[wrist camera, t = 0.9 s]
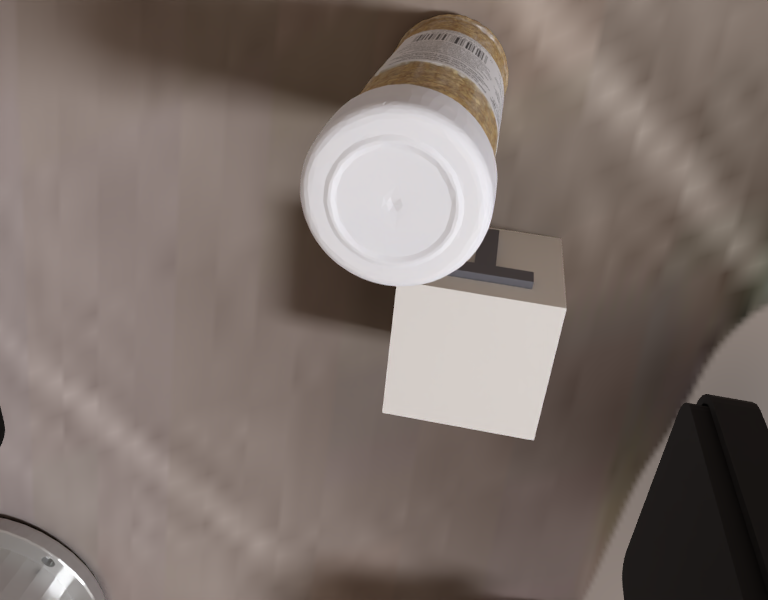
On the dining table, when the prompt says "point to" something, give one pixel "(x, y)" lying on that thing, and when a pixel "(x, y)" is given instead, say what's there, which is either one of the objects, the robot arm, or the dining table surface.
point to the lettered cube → (480, 338)
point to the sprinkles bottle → (412, 158)
